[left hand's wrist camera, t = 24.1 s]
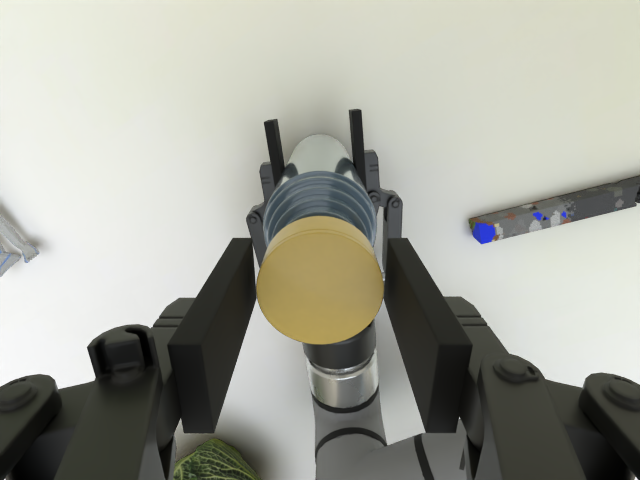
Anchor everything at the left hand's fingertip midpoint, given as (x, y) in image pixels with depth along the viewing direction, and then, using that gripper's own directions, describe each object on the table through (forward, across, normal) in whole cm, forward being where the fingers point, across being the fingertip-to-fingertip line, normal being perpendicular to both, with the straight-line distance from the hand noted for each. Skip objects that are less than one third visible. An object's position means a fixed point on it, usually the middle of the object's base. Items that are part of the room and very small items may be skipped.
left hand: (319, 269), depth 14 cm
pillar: (+24, -26, +4) cm, 36 cm away
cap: (-2, 0, 0) cm, 2 cm away
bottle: (+24, 0, 0) cm, 24 cm away
